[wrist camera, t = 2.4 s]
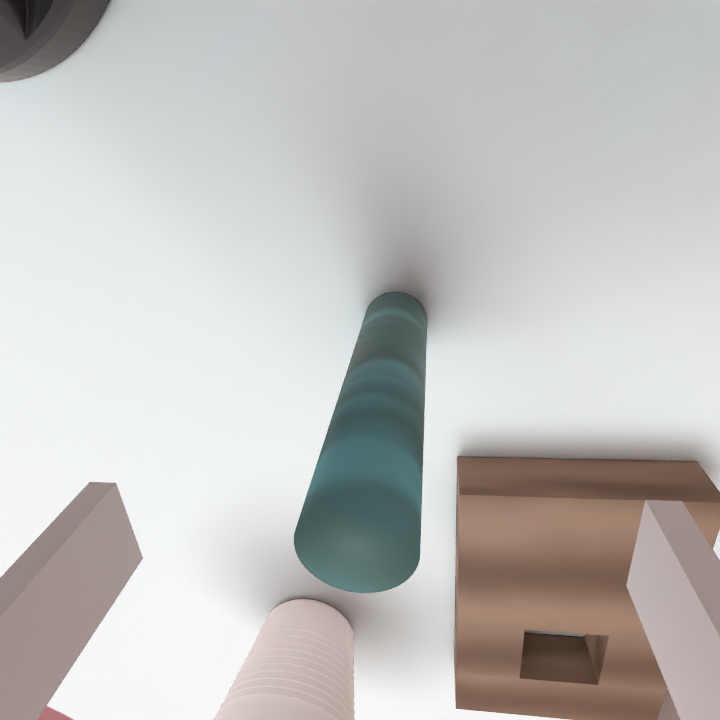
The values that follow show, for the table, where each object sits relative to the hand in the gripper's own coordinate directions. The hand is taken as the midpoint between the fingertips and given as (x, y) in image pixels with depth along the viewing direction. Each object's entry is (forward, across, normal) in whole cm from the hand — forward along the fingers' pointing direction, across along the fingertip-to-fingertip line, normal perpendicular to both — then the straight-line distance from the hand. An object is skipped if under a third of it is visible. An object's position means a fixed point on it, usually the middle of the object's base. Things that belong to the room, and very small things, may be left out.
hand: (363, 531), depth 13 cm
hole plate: (+13, +9, -16) cm, 23 cm away
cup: (+14, -7, -22) cm, 27 cm away
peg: (+13, 0, 0) cm, 13 cm away
